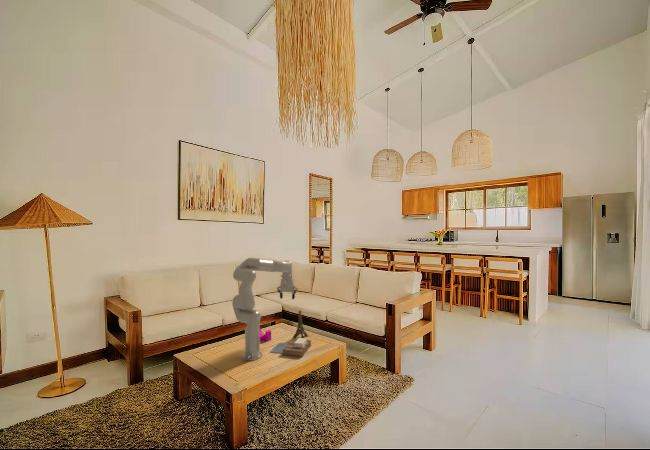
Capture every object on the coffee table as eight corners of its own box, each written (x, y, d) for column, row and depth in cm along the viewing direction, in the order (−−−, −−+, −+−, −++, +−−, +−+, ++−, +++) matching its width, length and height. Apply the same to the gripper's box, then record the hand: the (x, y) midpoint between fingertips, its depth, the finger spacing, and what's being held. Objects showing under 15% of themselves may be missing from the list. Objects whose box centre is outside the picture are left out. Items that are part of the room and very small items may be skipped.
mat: (283, 353, 209) (283, 353, 209) (269, 352, 212) (269, 351, 212) (291, 344, 225) (291, 344, 225) (279, 343, 227) (279, 342, 227)
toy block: (252, 338, 238) (252, 328, 238) (258, 335, 243) (258, 326, 243) (265, 343, 229) (264, 333, 229) (271, 340, 234) (271, 330, 234)
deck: (302, 357, 204) (301, 351, 204) (282, 355, 207) (282, 349, 207) (311, 345, 223) (310, 340, 223) (293, 343, 227) (293, 338, 227)
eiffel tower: (296, 334, 246) (296, 303, 245) (308, 335, 243) (308, 304, 242) (291, 339, 235) (291, 307, 235) (304, 340, 232) (303, 308, 232)
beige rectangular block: (302, 347, 209) (302, 343, 209) (294, 347, 211) (294, 342, 211) (306, 342, 218) (306, 338, 218) (298, 342, 220) (298, 337, 220)
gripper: (275, 277, 236) (275, 299, 237) (296, 278, 233) (296, 300, 233) (278, 275, 244) (278, 296, 244) (299, 276, 240) (299, 298, 240)
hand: (287, 298), depth 238 cm, fingers open, 9 cm apart
